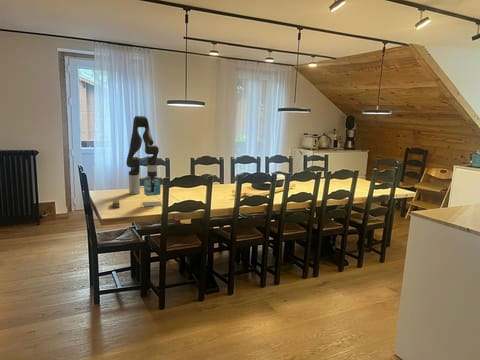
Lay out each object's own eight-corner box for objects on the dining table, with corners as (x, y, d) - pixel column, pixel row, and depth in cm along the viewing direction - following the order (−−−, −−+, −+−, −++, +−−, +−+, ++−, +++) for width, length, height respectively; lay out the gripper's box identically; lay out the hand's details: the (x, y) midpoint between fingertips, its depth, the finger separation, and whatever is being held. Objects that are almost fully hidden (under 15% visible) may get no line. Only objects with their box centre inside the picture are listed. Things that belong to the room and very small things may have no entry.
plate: (140, 202, 300) (140, 202, 300) (160, 201, 305) (160, 201, 305) (141, 207, 287) (141, 206, 287) (162, 205, 292) (162, 205, 292)
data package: (146, 196, 290) (145, 181, 288) (144, 195, 294) (143, 180, 291) (160, 194, 296) (160, 180, 294) (158, 193, 300) (158, 179, 298)
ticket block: (112, 204, 292) (112, 199, 292) (119, 204, 294) (119, 199, 293) (112, 208, 281) (112, 203, 280) (119, 207, 283) (119, 202, 282)
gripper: (146, 169, 297) (146, 189, 300) (148, 172, 284) (148, 193, 287) (155, 169, 299) (156, 189, 302) (157, 171, 286) (158, 193, 289)
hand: (152, 191), depth 294 cm, fingers closed on data package, 5 cm apart
